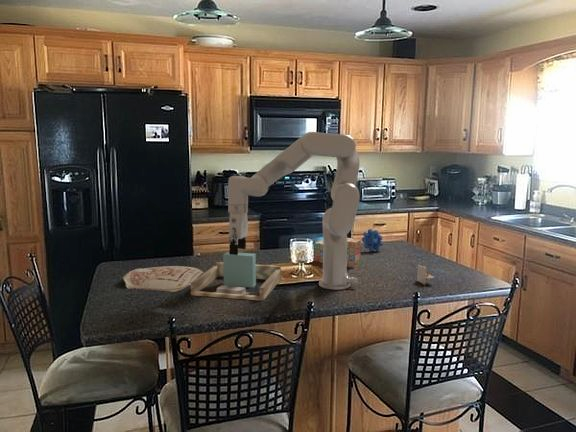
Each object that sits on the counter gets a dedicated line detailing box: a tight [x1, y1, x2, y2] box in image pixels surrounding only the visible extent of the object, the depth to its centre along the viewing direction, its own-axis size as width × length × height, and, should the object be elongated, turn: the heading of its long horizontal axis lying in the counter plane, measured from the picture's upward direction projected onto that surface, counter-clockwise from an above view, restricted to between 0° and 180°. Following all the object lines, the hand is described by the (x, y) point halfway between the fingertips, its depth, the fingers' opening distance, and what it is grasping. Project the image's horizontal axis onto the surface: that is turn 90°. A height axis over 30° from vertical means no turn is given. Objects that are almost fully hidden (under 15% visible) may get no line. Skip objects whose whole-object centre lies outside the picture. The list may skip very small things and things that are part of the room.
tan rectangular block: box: [313, 237, 362, 269], centre depth 229 cm, size 21×6×12 cm, turn 58°
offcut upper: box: [216, 284, 247, 295], centre depth 182 cm, size 10×4×2 cm, turn 73°
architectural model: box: [416, 264, 435, 285], centre depth 199 cm, size 3×7×7 cm, turn 18°
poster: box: [122, 265, 206, 293], centre depth 204 cm, size 28×6×30 cm
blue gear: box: [361, 228, 384, 252], centre depth 250 cm, size 12×7×12 cm, turn 105°
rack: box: [190, 261, 282, 302], centre depth 190 cm, size 28×27×7 cm
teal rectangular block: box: [222, 251, 257, 288], centre depth 192 cm, size 12×4×14 cm, turn 77°
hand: (237, 251), depth 190 cm, fingers open, 9 cm apart
